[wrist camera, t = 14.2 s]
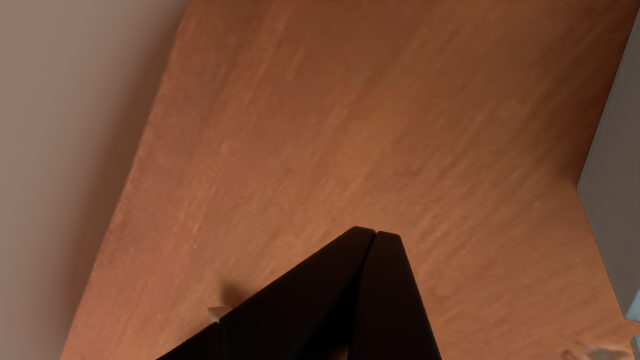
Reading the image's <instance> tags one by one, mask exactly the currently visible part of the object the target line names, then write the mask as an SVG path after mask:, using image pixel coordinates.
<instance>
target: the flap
mask: <svg viewBox="0 0 640 360" xmlns="http://www.w3.org/2000/svg"><path fill="white" fill-rule="evenodd" d="M631 345H632V349H633V352H634V356H635V360H640V336H636V335H635V336H634V337H633V338H632V340H631Z"/></svg>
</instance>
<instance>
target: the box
mask: <svg viewBox="0 0 640 360" xmlns="http://www.w3.org/2000/svg"><path fill="white" fill-rule="evenodd" d="M576 189H577V192H578V194H579V197H580V200H581V203H582V206H583V208H584V211H585V214H586V216H587V219H588V222H589V224H590V227H591V230H592V233H593V235H594V238H595V241H596V243H597V246H598V249H599V252H600V254H601V257H602V260H603V262H604V265H605V268H606V270H607V273H608V276H609V279H610V281H611V284H612V287H613V289H614V292H615V295H616V298H617V300H618V303H619V306H620V308H621V311H622V314H623V316H624V318H625V319H627V320H631V321H636V322H640V8H639V11H638V14H637V16H636V19H635V22H634V25H633V28H632V31H631V33H630V36H629V39H628V42H627V45H626V48H625V51H624V53H623V56H622V59H621V62H620V65H619V68H618V71H617V73H616V76H615V79H614V82H613V85H612V88H611V90H610V93H609V96H608V99H607V102H606V105H605V108H604V110H603V113H602V116H601V119H600V122H599V125H598V128H597V130H596V133H595V136H594V139H593V142H592V145H591V147H590V150H589V153H588V156H587V159H586V162H585V165H584V167H583V170H582V173H581V176H580V179H579V182H578V184H577V187H576Z"/></svg>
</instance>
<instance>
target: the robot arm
mask: <svg viewBox="0 0 640 360" xmlns="http://www.w3.org/2000/svg"><path fill="white" fill-rule="evenodd" d="M156 360H442V358H441V355H440V352H439V349H438V346H437V343H436V341H435V338H434V335H433V332H432V329H431V326H430V323H429V320H428V317H427V314H426V311H425V308H424V305H423V302H422V299H421V296H420V293H419V290H418V287H417V284H416V281H415V278H414V275H413V272H412V269H411V266H410V263H409V260H408V258H407V255H406V252H405V249H404V246H403V243H402V240H401V237H400V236H399V235H398V234H394V233H389V232H384V231H378V232H377V233H376V231H375V230H373V229H369V228H364V227H359V226H354V227H352V228H350V229H349V230H347V231H346V232H345V233H343V234H342V235H340V236H339V237H337V238H336V239H334V240H333V241H331V242H330V243H329V244H327V245H326V246H324V247H323V248H321V249H320V250H318V251H317V252H315V253H314V254H312V255H311V256H310V257H308V258H307V259H305V260H304V261H302V262H301V263H299V264H298V265H296V266H295V267H294V268H292V269H291V270H289V271H288V272H286V273H285V274H283V275H282V276H280V277H279V278H278V279H276V280H275V281H273V282H272V283H270V284H269V285H267V286H266V287H264V288H263V289H261V290H260V291H259V292H257V293H256V294H254V295H253V296H251V297H250V298H248V299H247V300H245V301H244V302H243V303H241V304H240V305H238V306H237V307H235V308H234V309H232V310H231V311H229V312H228V313H226V314H225V315H224V316H222V317H221V318H219V323H218V322H217V321H215V322H213V323H212V324H210V325H209V326H207V327H206V328H204V329H203V330H201V331H200V332H198V333H197V334H195V335H194V336H192V337H191V338H189V339H188V340H186V341H185V342H183V343H182V344H180V345H179V346H177V347H175V348H174V349H172V350H171V351H169V352H168V353H166V354H165V355H163V356H161V357H159V358H158V359H156Z"/></svg>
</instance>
